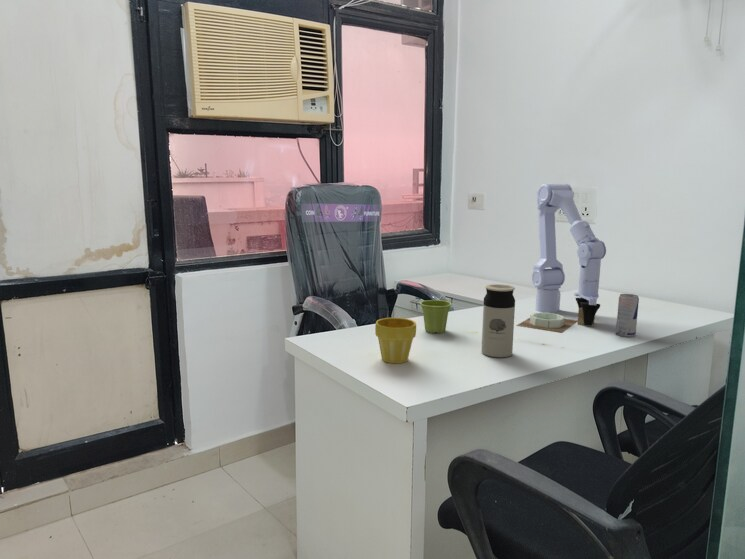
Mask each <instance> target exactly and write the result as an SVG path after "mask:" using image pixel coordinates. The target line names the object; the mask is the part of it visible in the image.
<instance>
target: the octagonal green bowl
mask: <svg viewBox="0 0 745 559" xmlns="http://www.w3.org/2000/svg"><path fill="white" fill-rule="evenodd" d="M529 318H530V323H531V324H533V325H535V326H539V327H545V328H560V327H562V326H563V325H564V319H566V318H565V316H564V315H561V314H558V313H543V312H534V313H532V314H530V316H529Z"/></svg>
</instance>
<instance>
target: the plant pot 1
mask: <svg viewBox="0 0 745 559" xmlns="http://www.w3.org/2000/svg"><path fill="white" fill-rule="evenodd" d="M374 325H375V328H374V330H375V336H376V337H377V340H378V344H379V351H380V357H381V360H382V361H383V362H386V363H388V364H403V363H406V362H407V361H408V360H409V357H410V353H411V348H412V343H413V340H414V338H416V337H417V336H416V335H417V322H416V321H414V320H412V319H409V318H405V317H384V318H380V319H377V320H376V322H375V324H374Z"/></svg>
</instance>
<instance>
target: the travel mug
mask: <svg viewBox="0 0 745 559" xmlns="http://www.w3.org/2000/svg"><path fill="white" fill-rule="evenodd" d="M484 288H485V290H486V294H485V296H484V297H483V306H482V307H483V311H482V332H481V353H482V354H484V355H485V356H488V357H491V358H496V357H497V358H498V357H499V358H502V357H503V358H507V357H511V356H512V354H513V349H514V346H513V345H514V333H515V332H514V328H515V309H516V299H515V296H514V290H515V289H516V288H515V287H514V286H512V285H509V284H503V283H501V284H500V283H497V284H496V283H495V284H493V283H492V284H486V285H485V286H484ZM497 358H496V359H497Z"/></svg>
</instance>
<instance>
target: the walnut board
mask: <svg viewBox="0 0 745 559" xmlns="http://www.w3.org/2000/svg"><path fill="white" fill-rule="evenodd" d="M576 323H578V319H569V318H565V319H564V325H563V326H562V327H560V328H545V327H539V326H535V325H533V324H531V323H530V317H529V318H528V317H527V319H525V320H523V321H521V322H520V323H518V324H516V325H515V326H516V327H521V328H522V327H523V328H528V329H534V330H540V331H545V332H551V333H552V332H553V333H559V334H563V333H564V332H565V331H566V330H568V329H569V328H571V327H572V326H574V325H575V324H576Z"/></svg>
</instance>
